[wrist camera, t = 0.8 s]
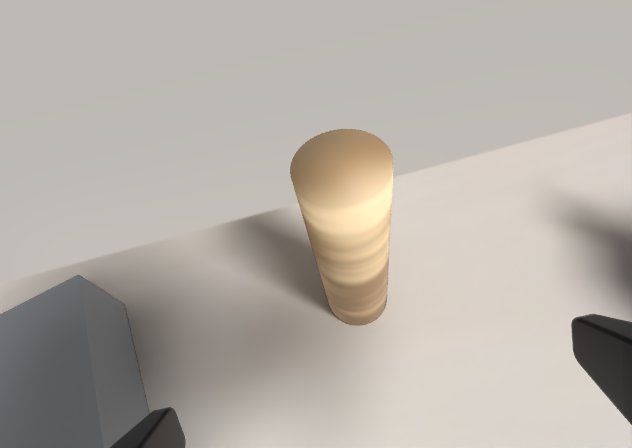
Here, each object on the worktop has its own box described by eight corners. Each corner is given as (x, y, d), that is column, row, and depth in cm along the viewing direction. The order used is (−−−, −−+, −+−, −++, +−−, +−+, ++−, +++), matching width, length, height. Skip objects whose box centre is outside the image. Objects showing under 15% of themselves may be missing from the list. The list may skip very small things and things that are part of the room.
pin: (398, 305, 23) (415, 171, 13) (348, 337, 23) (322, 222, 12) (365, 261, 26) (355, 116, 15) (318, 289, 25) (273, 157, 14)
